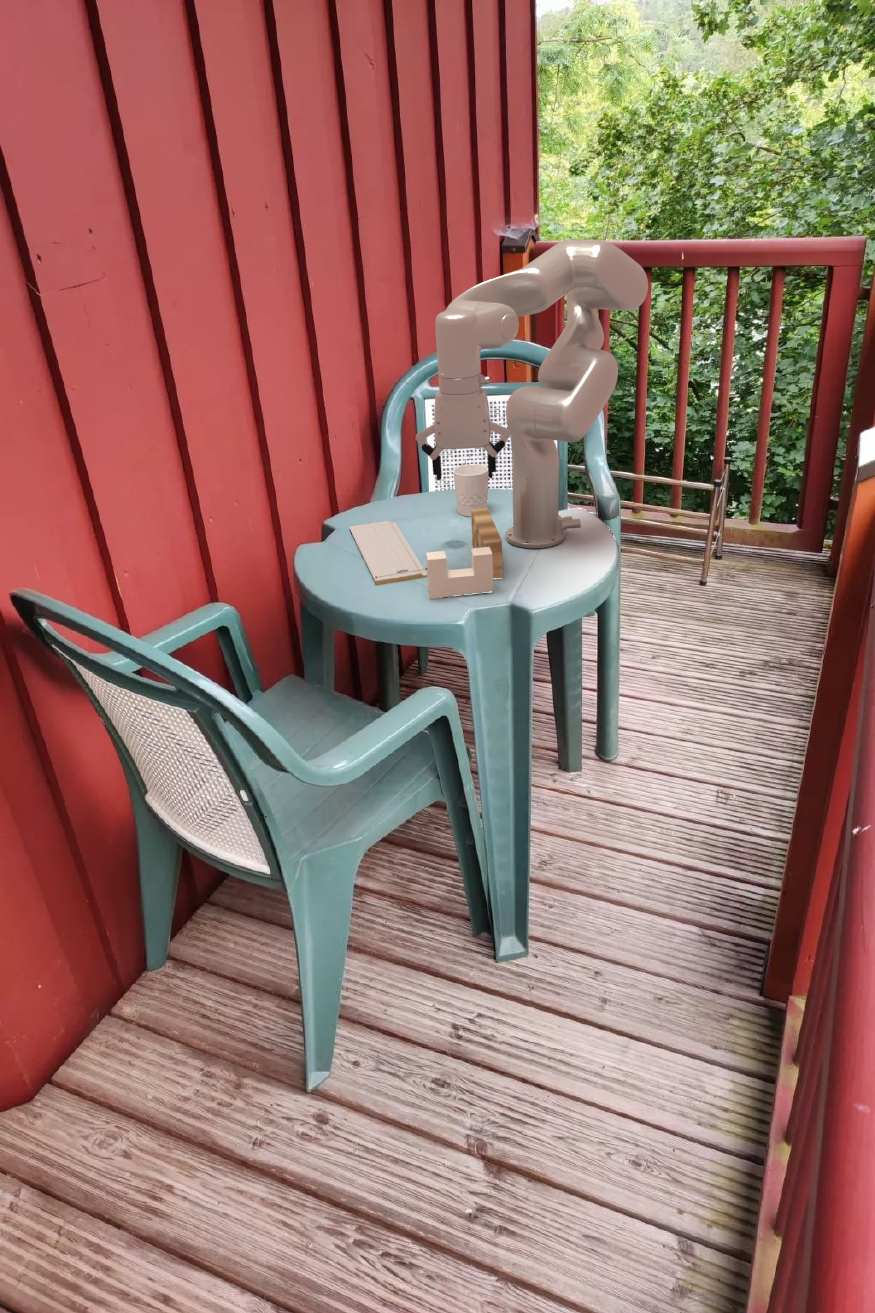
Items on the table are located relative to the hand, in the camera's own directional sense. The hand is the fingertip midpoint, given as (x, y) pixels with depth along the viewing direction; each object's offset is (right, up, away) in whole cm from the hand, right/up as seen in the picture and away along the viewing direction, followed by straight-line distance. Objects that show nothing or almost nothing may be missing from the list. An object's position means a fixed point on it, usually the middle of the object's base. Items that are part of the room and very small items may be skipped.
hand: (464, 476), depth 169 cm
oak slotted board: (+5, -14, +14) cm, 21 cm away
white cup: (+3, 0, +39) cm, 40 cm away
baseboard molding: (-15, -12, +22) cm, 29 cm away
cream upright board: (-1, -21, +2) cm, 22 cm away
